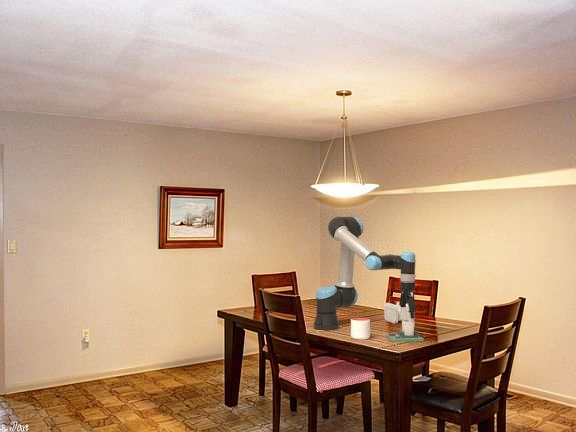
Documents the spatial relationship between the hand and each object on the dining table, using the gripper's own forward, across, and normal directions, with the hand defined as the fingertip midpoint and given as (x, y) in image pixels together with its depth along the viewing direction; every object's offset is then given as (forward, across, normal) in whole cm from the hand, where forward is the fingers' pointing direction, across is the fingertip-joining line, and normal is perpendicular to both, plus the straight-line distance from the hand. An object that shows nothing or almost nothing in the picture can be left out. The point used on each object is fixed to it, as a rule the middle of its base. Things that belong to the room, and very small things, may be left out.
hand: (407, 322), depth 294 cm
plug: (+7, -1, 0) cm, 7 cm away
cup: (+9, +3, +24) cm, 26 cm away
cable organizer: (+10, +47, -9) cm, 49 cm away
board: (+9, -1, +2) cm, 9 cm away
